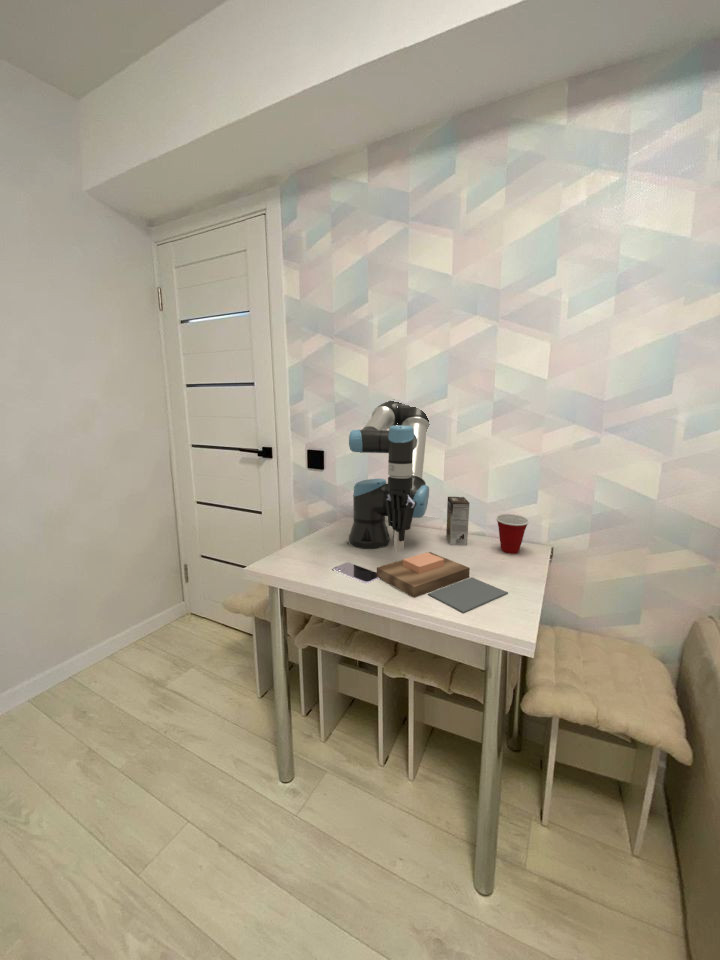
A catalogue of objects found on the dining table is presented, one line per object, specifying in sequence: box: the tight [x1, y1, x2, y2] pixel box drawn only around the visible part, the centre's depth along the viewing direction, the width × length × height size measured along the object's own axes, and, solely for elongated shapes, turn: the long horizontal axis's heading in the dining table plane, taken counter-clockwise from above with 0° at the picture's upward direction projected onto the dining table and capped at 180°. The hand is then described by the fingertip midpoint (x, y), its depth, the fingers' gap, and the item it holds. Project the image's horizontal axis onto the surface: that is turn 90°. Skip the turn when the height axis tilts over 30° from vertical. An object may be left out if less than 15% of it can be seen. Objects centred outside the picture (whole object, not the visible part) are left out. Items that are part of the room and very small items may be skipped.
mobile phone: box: [332, 562, 379, 584], centre depth 122 cm, size 8×1×15 cm
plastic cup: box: [495, 513, 530, 555], centre depth 140 cm, size 11×11×12 cm
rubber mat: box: [427, 577, 509, 614], centre depth 108 cm, size 12×18×1 cm, turn 126°
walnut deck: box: [376, 551, 471, 598], centre depth 119 cm, size 16×22×3 cm
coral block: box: [402, 552, 444, 574], centre depth 120 cm, size 7×10×2 cm
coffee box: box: [445, 496, 470, 546], centre depth 150 cm, size 9×6×16 cm
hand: (398, 549), depth 128 cm, fingers closed
